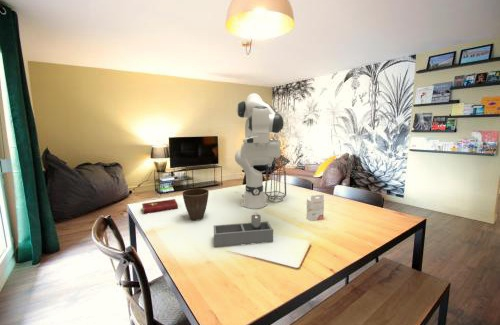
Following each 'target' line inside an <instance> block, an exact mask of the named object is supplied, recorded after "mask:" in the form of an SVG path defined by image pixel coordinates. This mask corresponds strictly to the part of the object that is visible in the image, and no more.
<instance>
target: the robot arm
mask: <svg viewBox="0 0 500 325" xmlns="http://www.w3.org/2000/svg"><path fill="white" fill-rule="evenodd" d="M236 114H237V117H239V118H246V119H245V125H244V138H243V139H242V144H241V145H240V146H241V148H240V149H238V150H237V151H236V152H235V154H234V161H235V163H236V164H237V165H238V166H240V167H241V169H242V170H243V171H244V174H245V181H246V182H245V183H246V184H245V191H244V194H242V195H241V202H240V207H242V208H244V207H245V208H248V209H262V208H264V207H265V206H268V205H269V203H268V202H267V201H266V199H267V197H266V194H265V193H266V192H265V191H264V185H263V184H264V182H263V173H262V172H261V171H260V170H257V169H256V168H254V166H267V165H268V166H267V168H272V165H273V163H274V161H275V160H274V158H276V159H277V158H278V159H279V157H280V156H281V154H282V153H281V151H282V150H281V147H282V146H281V145H282V142H281V140H279V139H278V138H274V139H273V138H271V136H270V133H273V134H278V133H280V132H281V131H282V130H283V129H284V119H283V118H284V117H283V116H282V115H281V114H280V113H278V112H277V111H276V110H275V109H274V107H273V106H272V105H270V104H268V102H266V101H264V100H263V99H262V97H261V96H260V95H259V94H258V93H256V92H255V93H254V92H253V93H249V94H248V95H247V98H246V100H242V101H240V102H239V103H238V104H237V106H236ZM273 160H274V161H273ZM266 164H267V165H266Z"/></svg>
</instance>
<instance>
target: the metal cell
mask: <svg viewBox="0 0 500 325" xmlns="http://www.w3.org/2000/svg"><path fill="white" fill-rule="evenodd" d="M250 217H251V222H250V223H251V227H252V230H261V222H262V219H261V218H262V216H261V215H260V214H258V213H254V214H252V215H251V216H250Z"/></svg>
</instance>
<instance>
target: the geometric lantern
mask: <svg viewBox="0 0 500 325" xmlns="http://www.w3.org/2000/svg"><path fill="white" fill-rule="evenodd" d="M290 162H291V160H289V159H288V158H287V157H284V156H283V155H281V156H280V157H278V158H274V160H273V162H272V165H273V166H274V167H275V170H273V169H272V167H268V164H266V165H265V166H266V167H267V169H266V172H265V180H266V181H268V178H269V173H271V174H273V176H271V179H270V180H271V182H270V191H267V189H268V188H267V187H268V182H265V185H264V193H265V196H266V197H267V200H268V201H270V202H272V203H275V201H276V199H277V201H276V203H280V202H281V201H282V200H283V199H284V198H285V197H286V196H287V171H286V166H287V164H288V163H290ZM280 164H281V165H280ZM278 167H279V169H278ZM281 169H283V170H281ZM278 173H279V174H278ZM282 173H283V177H284V178H283V179H284V192H281V174H282ZM275 174H276V175H275ZM275 176H276V177H275ZM275 178H278V180H279V181H276V179H275ZM278 182H279V183H278ZM278 184H279V185H278ZM272 186H273V187H272ZM278 186H279V188H278ZM272 188H273V191H272ZM277 189H279V190H278V191H277ZM272 193H273V195H272ZM276 193H278V194H276ZM279 194H283V196H282V195H279Z"/></svg>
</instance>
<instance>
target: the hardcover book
mask: <svg viewBox="0 0 500 325" xmlns="http://www.w3.org/2000/svg"><path fill="white" fill-rule="evenodd" d="M141 206H142V211H143V212H142V213H143V215H147V214H148V213H149V214H155V213H160V212H166V211H172V210H173V211H174V210H179V203H178V202H177V201H176V198H172V199H167V200H166V199H165V200H159V201H152V202H144V203H143V202H142V203H141Z"/></svg>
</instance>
